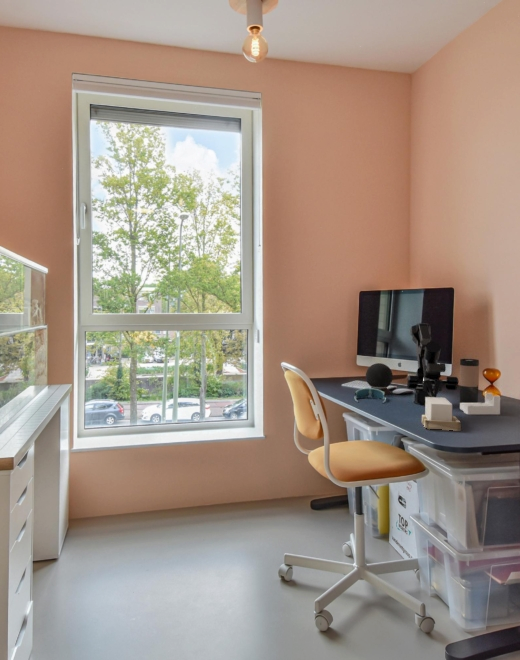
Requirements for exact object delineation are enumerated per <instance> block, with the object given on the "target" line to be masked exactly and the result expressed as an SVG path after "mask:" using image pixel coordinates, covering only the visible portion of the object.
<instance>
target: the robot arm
mask: <svg viewBox="0 0 520 660" xmlns="http://www.w3.org/2000/svg"><path fill="white" fill-rule="evenodd" d="M409 334H410V336H411V340H412V342H414V343H415V347H416V358H417V370H416V372H415V375H414V374H413V375H412V374H411V375H408V376H407V382H406V385H407V387H406V388H407V389H409V390H414V391H415V392H414V401H413V403H415V404H417V405H420V406H425V397H438V394H439V392H441V391H442V390H443V386H445V389H446V390H448V391H456V390H458V387H459V386H458V385H459V383H460V380H459V378H458V377H457V376H447V375H446V379H441V376H442V375H441V373H445V372H446V370H447V369H446V368H447V367H446V363H444V362H440V363H438V360H439V358H440V353H442V346H441V345H440V343H438V342H436V340H435V339H432V337H431V334H432V333H431V325H430V324H429V323H426V322H425V323H423V322H422V323H420V322H419V323H416V324H415V325H412V326H411V327H410V330H409Z"/></svg>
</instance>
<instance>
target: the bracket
mask: <svg viewBox="0 0 520 660" xmlns="http://www.w3.org/2000/svg"><path fill="white" fill-rule="evenodd" d="M459 409H460V410H461V411H463V413H464V414H466V415H501V396H500V395H493V392H488V393H487V392H485V393H484V402H478V403H460V402H459Z"/></svg>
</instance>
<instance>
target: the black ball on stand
mask: <svg viewBox="0 0 520 660" xmlns="http://www.w3.org/2000/svg"><path fill="white" fill-rule="evenodd" d="M393 375H394V374H393V371H392V370H391V368H390V367H389V366H388V365H386V364H384V363H380V362H379V363H378V362H376V363H373V364H372V365H370V366H369V367H368V368H367V370H366V372H365V380H366V382H367V384H368V385H369V386H370V388H374V389H378V390H381V391H383V392H384V393H385V394H389V395H391V390H390V389H389V388H388V387H389V386H391V384H392V382H393V379H394V377H393Z"/></svg>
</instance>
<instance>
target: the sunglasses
mask: <svg viewBox="0 0 520 660" xmlns="http://www.w3.org/2000/svg"><path fill="white" fill-rule="evenodd" d="M369 395H370V396H371V398H373V399H379V398H382V399H381V400H383V401H382V402H381V403H383V404H385V402H386V401H387V398H386V397H387V395H385V393H384V392H383V391H381V390H378V389H374V388H371V387H364V388H361V389H358V390H356V391H355V393H354V400H355V402H356V403H360V402H359V400H357V399H360V398H368V397H369Z"/></svg>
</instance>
